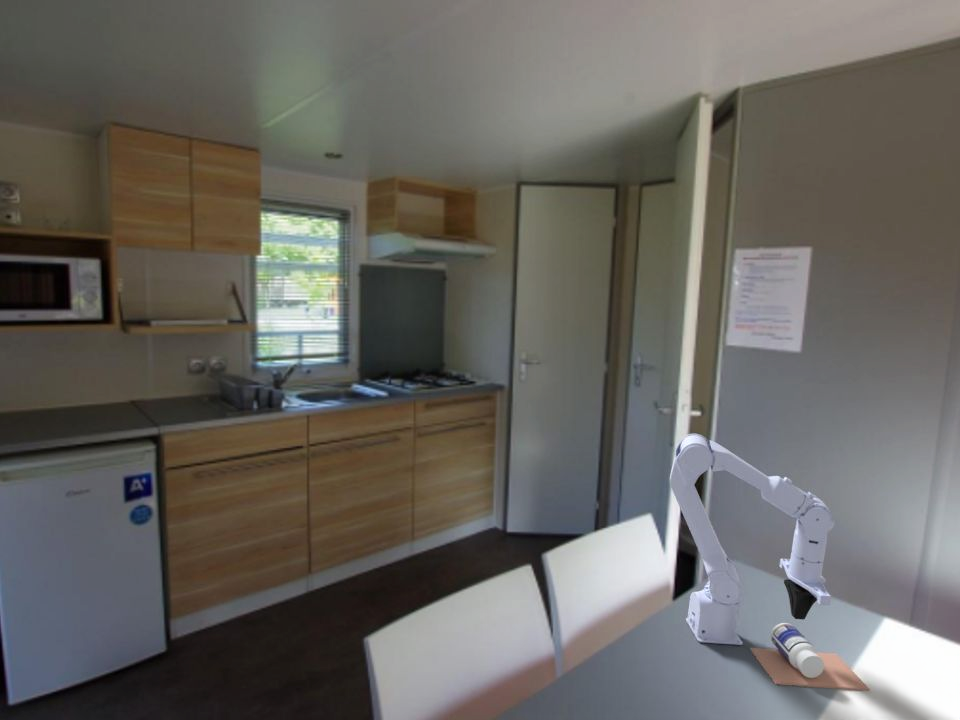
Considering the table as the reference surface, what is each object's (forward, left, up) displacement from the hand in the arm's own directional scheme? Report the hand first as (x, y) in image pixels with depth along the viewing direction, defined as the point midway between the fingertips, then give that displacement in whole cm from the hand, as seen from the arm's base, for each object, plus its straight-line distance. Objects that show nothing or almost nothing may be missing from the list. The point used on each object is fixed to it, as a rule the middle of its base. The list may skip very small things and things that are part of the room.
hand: (798, 617), depth 112 cm
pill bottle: (-2, +1, -5) cm, 5 cm away
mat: (0, -5, -8) cm, 9 cm away
